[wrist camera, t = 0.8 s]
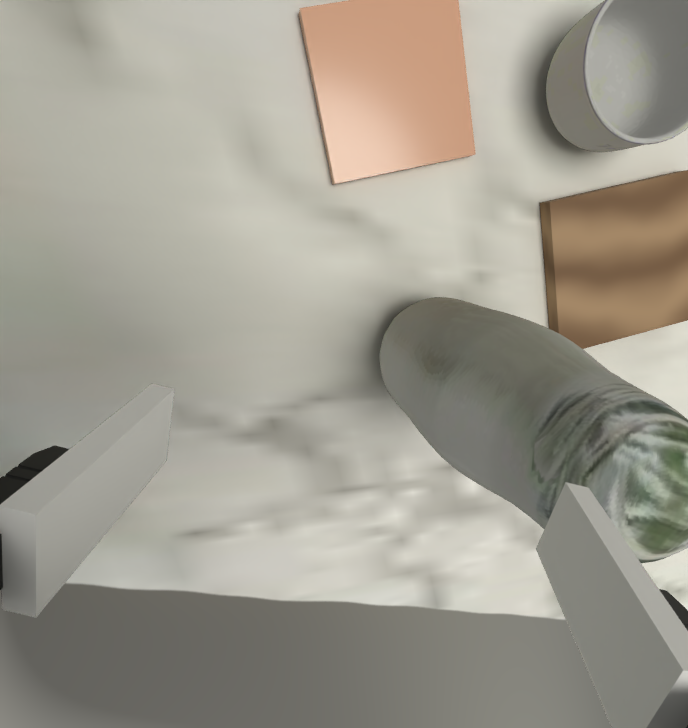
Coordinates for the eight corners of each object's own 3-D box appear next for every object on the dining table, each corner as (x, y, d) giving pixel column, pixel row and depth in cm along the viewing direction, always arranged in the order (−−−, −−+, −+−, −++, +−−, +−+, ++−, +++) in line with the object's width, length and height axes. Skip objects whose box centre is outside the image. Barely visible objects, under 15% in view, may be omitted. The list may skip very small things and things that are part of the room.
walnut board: (539, 202, 43) (549, 201, 41) (677, 171, 45) (691, 169, 43) (550, 351, 47) (560, 354, 46) (676, 317, 49) (689, 319, 47)
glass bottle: (484, 303, 44) (837, 413, 18) (450, 406, 47) (720, 639, 20) (385, 276, 42) (624, 358, 15) (353, 386, 44) (517, 623, 18)
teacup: (562, 184, 43) (630, 175, 35) (503, 70, 39) (564, 32, 32) (686, 85, 43) (781, 54, 35) (638, -39, 39) (732, -103, 32)
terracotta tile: (298, 14, 35) (300, 8, 34) (450, -11, 37) (456, -17, 36) (332, 184, 39) (334, 183, 38) (470, 156, 41) (475, 154, 40)
